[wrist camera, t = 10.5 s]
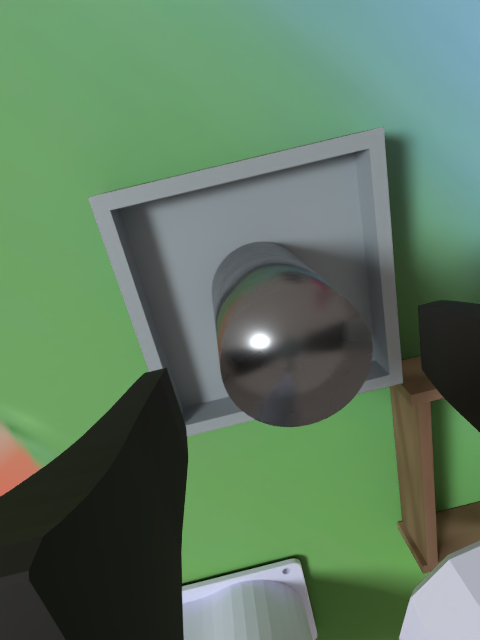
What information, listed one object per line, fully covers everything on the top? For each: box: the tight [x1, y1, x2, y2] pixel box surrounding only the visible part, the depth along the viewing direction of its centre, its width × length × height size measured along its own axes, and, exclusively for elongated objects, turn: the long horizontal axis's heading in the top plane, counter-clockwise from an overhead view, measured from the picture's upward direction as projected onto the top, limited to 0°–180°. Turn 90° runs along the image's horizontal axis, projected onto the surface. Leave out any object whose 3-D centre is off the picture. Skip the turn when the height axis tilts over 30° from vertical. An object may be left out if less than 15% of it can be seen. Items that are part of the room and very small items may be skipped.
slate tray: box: [88, 127, 403, 436], centre depth 18 cm, size 11×11×2 cm
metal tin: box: [212, 242, 373, 427], centre depth 15 cm, size 4×4×7 cm
